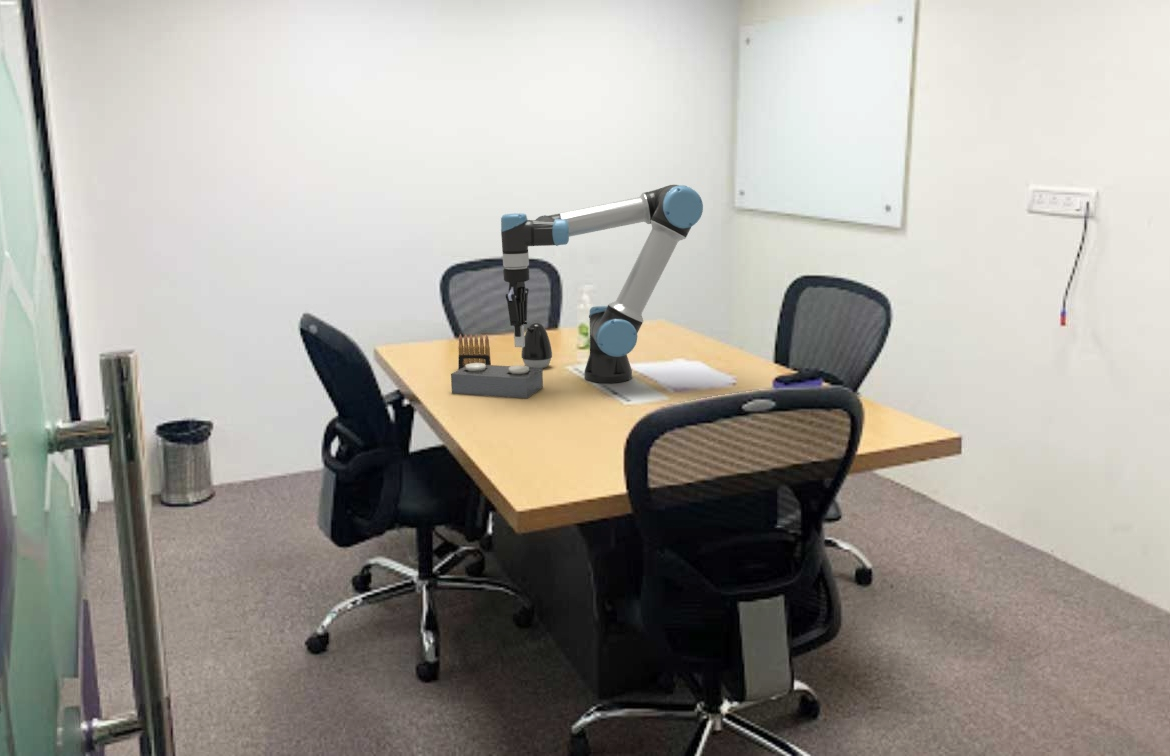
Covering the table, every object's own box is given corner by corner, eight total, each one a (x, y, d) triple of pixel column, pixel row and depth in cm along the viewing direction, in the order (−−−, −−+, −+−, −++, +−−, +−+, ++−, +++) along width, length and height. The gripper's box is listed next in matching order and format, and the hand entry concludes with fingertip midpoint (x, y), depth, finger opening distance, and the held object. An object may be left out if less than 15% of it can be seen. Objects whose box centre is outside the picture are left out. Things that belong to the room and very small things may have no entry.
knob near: (532, 388, 284) (531, 366, 282) (525, 393, 278) (524, 370, 276) (513, 387, 285) (513, 364, 284) (506, 392, 280) (505, 369, 278)
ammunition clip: (458, 370, 311) (456, 334, 308) (459, 368, 313) (458, 333, 310) (490, 370, 310) (489, 334, 307) (491, 369, 312) (490, 333, 309)
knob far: (489, 385, 288) (488, 363, 286) (481, 390, 282) (480, 367, 280) (471, 384, 289) (470, 362, 288) (463, 389, 284) (462, 366, 282)
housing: (542, 387, 287) (542, 368, 285) (526, 398, 274) (526, 378, 272) (470, 382, 294) (469, 363, 292) (451, 393, 281) (450, 373, 279)
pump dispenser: (515, 369, 311) (514, 324, 307) (531, 362, 320) (530, 319, 316) (542, 372, 306) (541, 326, 303) (557, 365, 315) (557, 321, 312)
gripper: (512, 264, 280) (516, 341, 286) (495, 270, 268) (499, 350, 274) (535, 264, 278) (539, 342, 284) (520, 270, 266) (524, 351, 271)
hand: (519, 346), depth 279 cm, fingers closed
